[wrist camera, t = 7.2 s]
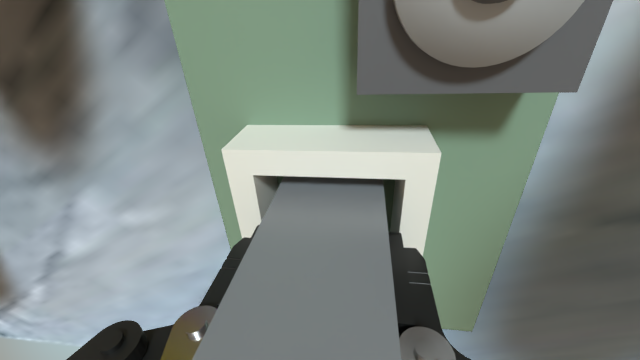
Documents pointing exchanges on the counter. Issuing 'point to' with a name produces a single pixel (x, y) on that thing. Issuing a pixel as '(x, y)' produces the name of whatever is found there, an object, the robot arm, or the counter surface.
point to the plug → (312, 279)
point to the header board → (387, 111)
